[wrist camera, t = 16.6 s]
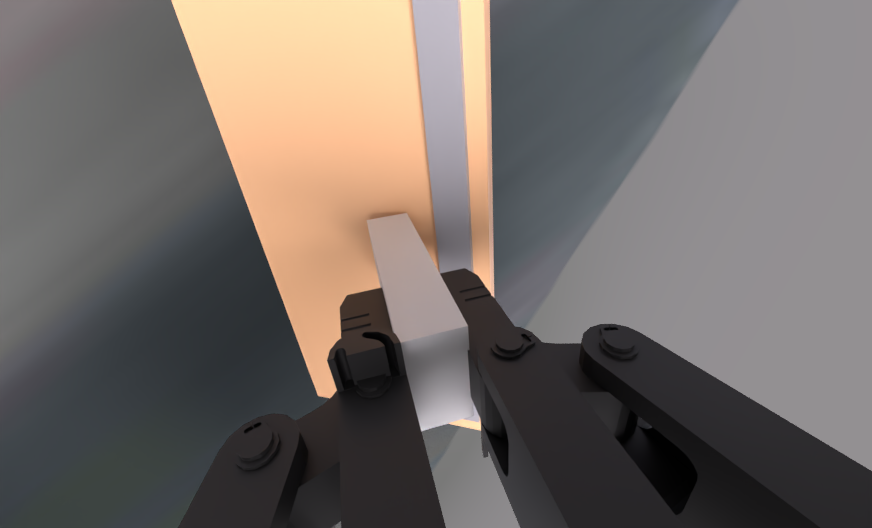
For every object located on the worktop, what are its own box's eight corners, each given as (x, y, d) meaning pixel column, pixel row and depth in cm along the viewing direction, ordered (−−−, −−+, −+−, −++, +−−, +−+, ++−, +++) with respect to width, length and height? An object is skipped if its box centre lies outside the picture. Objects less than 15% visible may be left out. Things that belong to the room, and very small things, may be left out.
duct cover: (325, 385, 21) (314, 400, 20) (170, -61, 11) (136, -69, 10) (495, 419, 18) (492, 438, 17) (486, -148, 8) (477, -171, 7)
